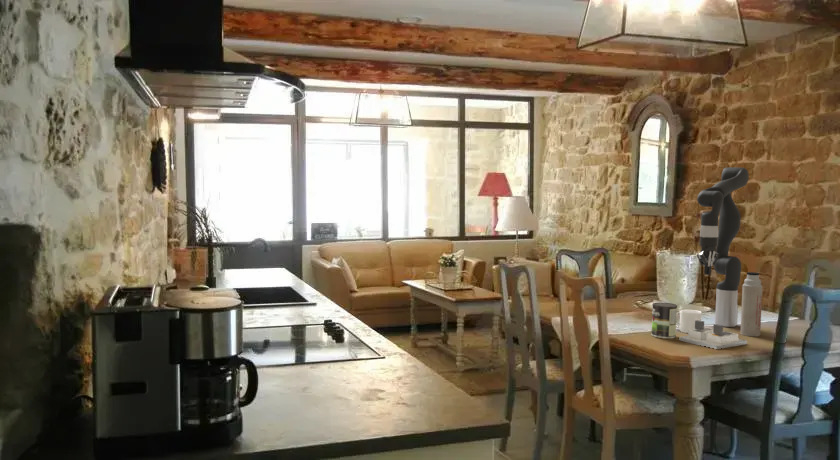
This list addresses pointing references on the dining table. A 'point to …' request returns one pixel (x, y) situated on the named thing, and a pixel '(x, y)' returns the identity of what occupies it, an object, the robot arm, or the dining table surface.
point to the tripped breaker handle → (718, 329)
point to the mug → (688, 319)
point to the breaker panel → (710, 344)
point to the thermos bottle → (751, 305)
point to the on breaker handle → (699, 325)
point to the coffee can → (664, 320)
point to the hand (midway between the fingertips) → (707, 274)
